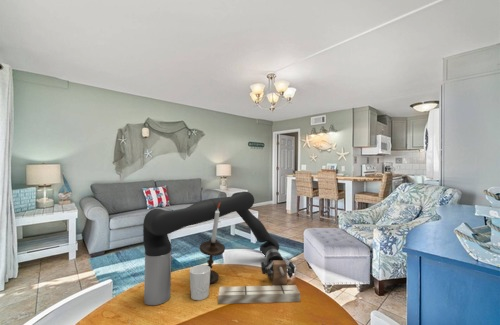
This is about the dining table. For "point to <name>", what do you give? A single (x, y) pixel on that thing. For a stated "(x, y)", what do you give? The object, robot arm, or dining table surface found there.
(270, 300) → the batten
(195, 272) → the white cup
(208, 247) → the candlestick
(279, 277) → the upright wooden pillar
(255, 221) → the robot arm
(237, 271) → the dining table surface
